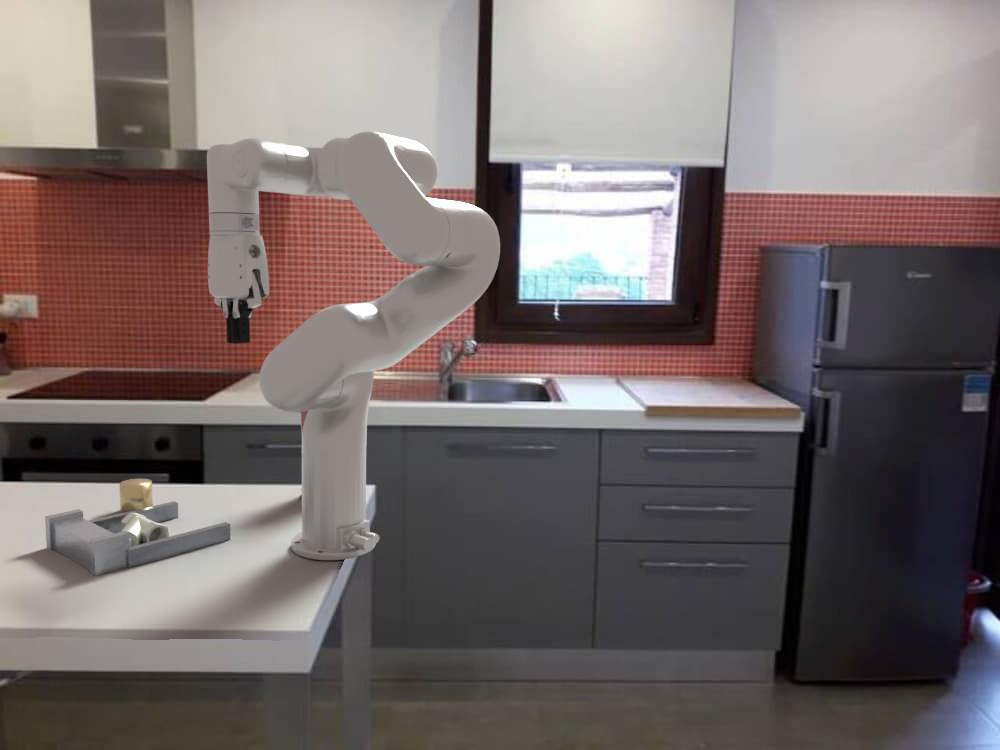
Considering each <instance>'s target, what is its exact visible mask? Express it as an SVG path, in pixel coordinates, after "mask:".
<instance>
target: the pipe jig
mask: <svg viewBox="0 0 1000 750" xmlns="http://www.w3.org/2000/svg"><path fill="white" fill-rule="evenodd" d="M131 512H132V513H136V514H140V515H143V516H145V517H146V518H147V519H149V520H151V521H153V522H155V523H161V522H165V521H169V520H173V519H177V518H179V503H178V502H177V501H169V502H166V503H162V504H156V505H153V506H151V507H147V508H142V509H138V510H134V511H129V512H125V513H121V512H120V513H117V514H116V513H115V514H112V515H109V516H104V517H99V518H95V519H89V520H87V519H86V518H84V511H83V510H81V509H79V508H78V509H74V510H73V509H72V510H70V511H64V512H58V513H55V514H51V515H50V514H49V515H45V516H44V518H45V524H44V525H45V540H46V543H45V544H46V549H49V550H50V551H56V552H58V553H59V554H61V555H63V556H64V557H66V558H68V559H69V560H72V561H74V562H75V563H77V564H78V565H80V566H83V568H85V569H87V570H89V571H90V574H92V575H93V576H100V575H103V574H107V573H110V572H115V571H117V570H120V569H124V568H129V569H130V568H133V567H137V566H139V565H144V564H147V563H152V562H154V561H159V560H162V559H165V558H169V557H172V556H176V555H180V554H183V553H186V552H190V551H193V550H194V551H195V550H197V549H201V548H205V547H208V546H212V545H215V544H218V543H223V542H226V541H230V540H231V523H229V522H226V521H225V522H221V523H217V524H213V525H209V526H205V527H202V528H198V529H194V530H191V531H186V532H182V533H178V534H175V535H171V536H170V535H169V537H167V538H163V539H159V540H155V541H151V542H147V543H144V544H143V543H140V545H136V546H132V547H129V533H127V532H125V531H122V530H121V521H122V520H123V519H124V518H125V517H126V516H127V515H128V514H129V513H131ZM121 531H122V532H121Z"/></svg>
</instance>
